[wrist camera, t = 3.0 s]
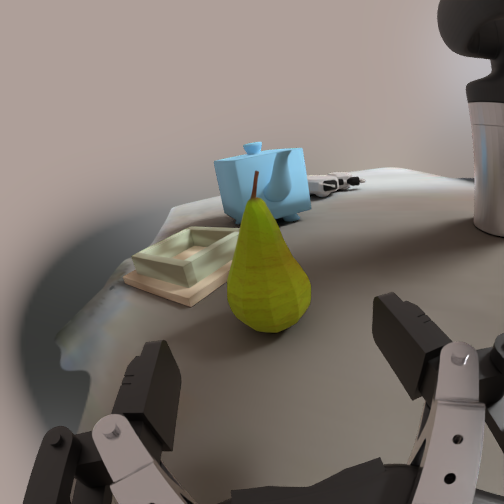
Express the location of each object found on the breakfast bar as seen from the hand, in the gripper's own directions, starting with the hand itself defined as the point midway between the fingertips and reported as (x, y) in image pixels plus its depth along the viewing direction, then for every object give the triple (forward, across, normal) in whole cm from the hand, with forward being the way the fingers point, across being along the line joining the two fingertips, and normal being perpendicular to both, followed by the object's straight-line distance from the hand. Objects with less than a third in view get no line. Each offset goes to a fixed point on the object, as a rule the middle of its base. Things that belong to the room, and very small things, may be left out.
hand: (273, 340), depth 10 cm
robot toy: (+55, -20, +7) cm, 59 cm away
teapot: (+39, -4, +7) cm, 40 cm away
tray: (+26, +8, +7) cm, 28 cm away
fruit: (+11, 0, +7) cm, 13 cm away
